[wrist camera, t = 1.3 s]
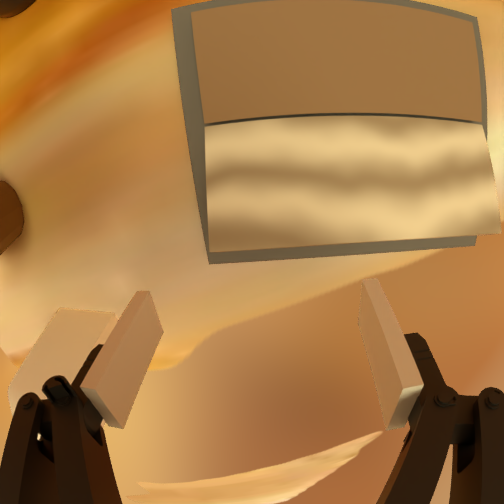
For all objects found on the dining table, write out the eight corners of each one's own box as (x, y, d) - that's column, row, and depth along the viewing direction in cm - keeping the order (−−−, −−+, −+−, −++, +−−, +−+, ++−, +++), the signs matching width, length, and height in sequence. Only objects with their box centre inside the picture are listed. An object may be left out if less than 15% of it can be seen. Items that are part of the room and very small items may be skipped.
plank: (209, 134, 30) (204, 126, 28) (473, 130, 26) (482, 124, 25) (214, 252, 30) (209, 252, 28) (491, 234, 26) (501, 233, 24)
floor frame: (174, 11, 25) (165, 4, 22) (472, 18, 21) (485, 14, 18) (210, 260, 38) (205, 272, 35) (471, 242, 34) (482, 252, 31)
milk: (135, 366, 49) (82, 494, 26) (83, 357, 50) (24, 466, 27) (114, 312, 44) (34, 453, 21) (60, 307, 45) (-23, 421, 21)
